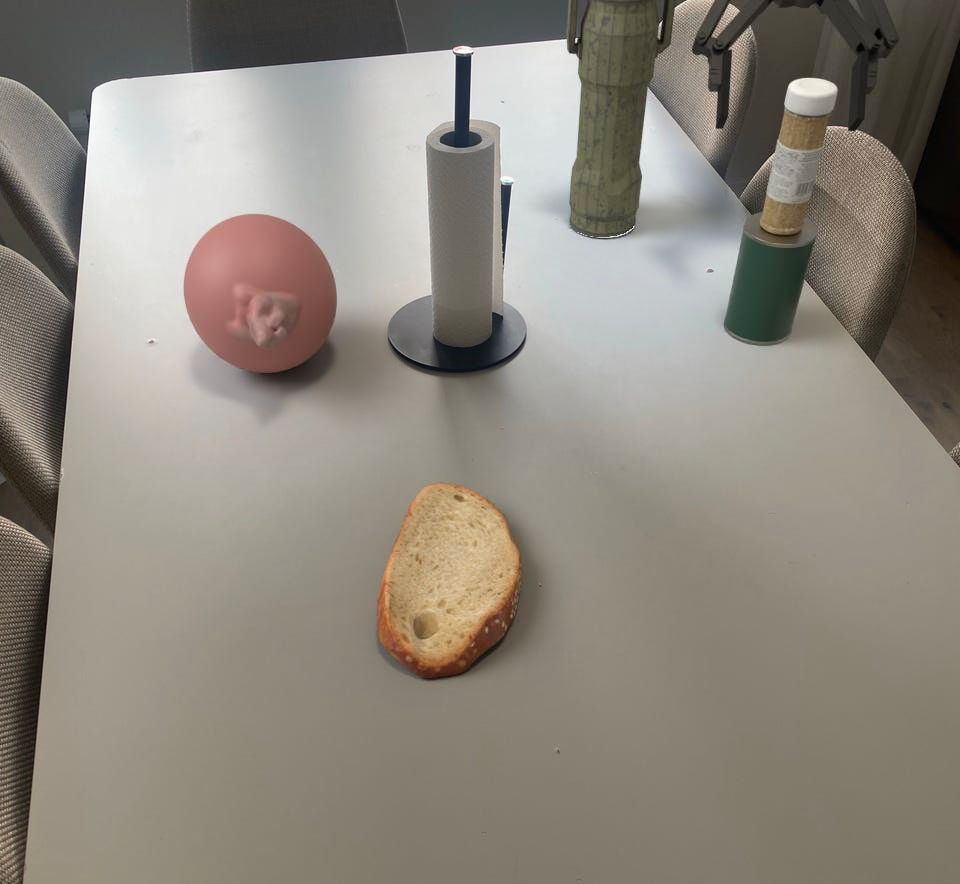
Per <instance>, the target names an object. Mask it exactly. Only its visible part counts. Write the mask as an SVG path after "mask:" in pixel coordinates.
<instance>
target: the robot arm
mask: <svg viewBox="0 0 960 884" xmlns="http://www.w3.org/2000/svg"><path fill="white" fill-rule="evenodd" d="M731 1H732V0H714V1H713V3H712V5H711V6H710V8H709V10H708V12H707V14H706V16H705V17H704V19H703V21H702V23H701V24H700V27H699V28H698V30H697V32H696V35H695V36H694V40H693V43H692V47H691V52H692V54H693V55H694V56H704V57H706V58H707V60H706V61H707V64H708V78H707V88H708V91H709V92H710V93H717V97H716V98H717V99H716V114H715V116H716V117H715V119H716V120H715V129H716V130H723V129H724V127H725V126H726V123H727V121H728V118H729V113H730V112H729V111H730V92H731V79H732V77H731V76H732V61H733V60H732V59H733V49H730V48H732V46H733V45H734V44H735V43H736V42H737V41H738V40H739V39H740V37H741V36H742V35H743V34H744V33H745V32H746V31H747V29H748V28H750V26H751V25H752V24H753V22H755V20H756V19H757V18H758V17H759V16H760V15H761V14H763V13H764V12H765V11H766V10H767V8H768V7H769V6H770V5H771V4H772V3H774V4H775V5H776V6H778V9H787V8H791V7H796V8H799V9H810V7H811V6H813V5H814V6H815V7H816V9H817V10H818V11H819V13H820V14H821V15H825V16H826V17H827V19H828V20H829V21H830V23H831V24H832V25H833V27H834V28H835V30H837V32H838V34H840V36H841V37H842V38H843V40H844V41H845V42H846V44H847V45H848V47H849V48H850V49H851V51H852V52H853V54H854V55H855V56H856V59H855V61H854V63H852V66H851V79H850V94H849V95H850V97H849V109H848V123H847V132H856V131H857V130H858V129H859V127H860V126H861V124H862V122H864V121H865V117H866V101H867V96H869V95H870V94H871V93H872V91H873V90H874V89H875V86H876V85H877V80H878V69H879V68H878V67H879V66H878V65H879V59H888V57H889V56H891V54H892V52H893V51H894V50H895V48H896V47H897V46H898V43H899V42H900V36H899V32H898V31H897V28H896V25H895V23H894V21H893V19H892V16H891V14H890V11H889V8H888V7H887V4H886V1H885V0H855V1H856V3H857V6H858V8H859V11H860V13H861V15H860V13H859V12H858V11H857V9H856V8H855V7H854V6H853V4H852V3H851V1H850V0H748V1H747V3H745V4H744V6H742V8H741V10H740V11H738V13H737V14H736V15H735V16H734V17H733V18H732V19H731V20H730V21H729V23H728V24H727V25H726V26H725V27H724V28H723V30H722V31H721V32H720V33H719V34H718V35H717V36H716V37H713V35H714V33H715V30H716V29H717V27H718V25H719V23H720V21H721V20H722V17H723V16H724V14H725V12H726V10H727V9H728V6H729V5H730V3H731Z"/></svg>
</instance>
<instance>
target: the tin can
mask: <svg viewBox="0 0 960 884" xmlns="http://www.w3.org/2000/svg"><path fill="white" fill-rule="evenodd" d="M762 213H763V211H760V212H755V213H754V214H751V215H749V216H748V217H747V218H746V219H745V220H744V224H743V231H742V235H741V240H740V244H739V249H738V254H737V260H736V263H735V269H734V274H733V279H732V283H731V287H730V292H729V298H728V303H727V307H726V312H725V316H724V320H723V328H724V330H725V332H726V333H727V334H728V335H729V336H730V337H732V338H734V339H735V340H737V341H740V342H742V343H745V344H748V345H754V346H771V345H777V344H781V343H782V342H784V341H786V340H787V339H788V338H790V337H791V333H792V330H793V325H794V322H795V317H796V314H797V310H798V306H799V303H800V298H801V295H802V292H803V287H804V284H805V280H806V276H807V272H808V269H809V265H810V261H811V257H812V255H813V250H814V246H815V242H816V240H817V237H818V232H819V230H818V226H817V225H816V223H814V221H812V220H811V219H809V218H808V217H806V216H805V217H804V226H803V228H802V230H801V231H799V232H797V233H795V234H791V235H778V234H774V233H770V232H768V231H766V230H765V229H764V228H762V227H761V225H760V218H761V216H762Z"/></svg>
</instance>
